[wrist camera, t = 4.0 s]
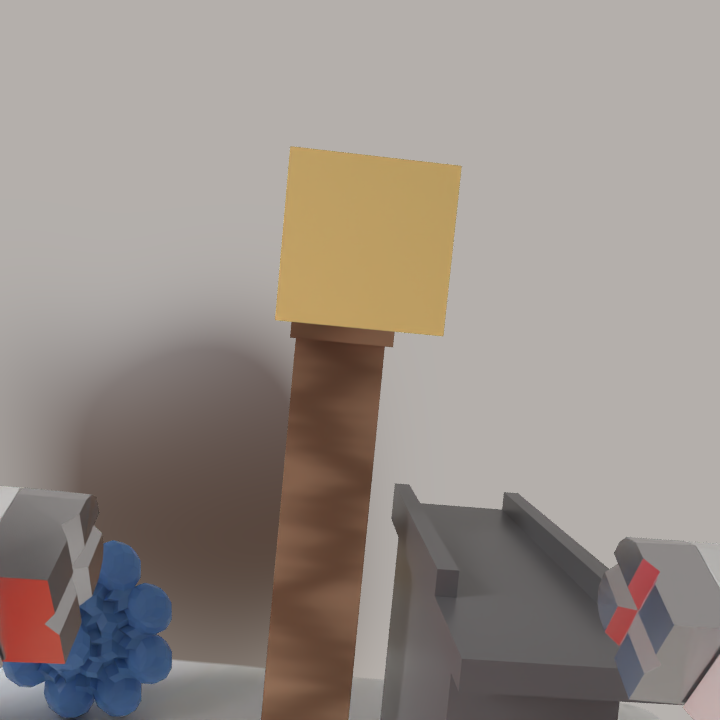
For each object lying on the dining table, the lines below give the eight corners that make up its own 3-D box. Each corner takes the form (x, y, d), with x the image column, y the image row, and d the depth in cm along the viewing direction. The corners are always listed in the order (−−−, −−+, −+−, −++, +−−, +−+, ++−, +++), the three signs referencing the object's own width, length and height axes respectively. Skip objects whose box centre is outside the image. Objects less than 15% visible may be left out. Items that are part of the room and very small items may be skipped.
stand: (201, 944, 27) (263, 243, 26) (236, 754, 39) (280, 269, 38) (370, 949, 27) (439, 261, 26) (354, 760, 39) (401, 282, 38)
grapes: (-65, 754, 37) (-50, 541, 36) (-3, 688, 43) (10, 508, 43) (148, 767, 37) (166, 558, 37) (176, 700, 44) (191, 522, 43)
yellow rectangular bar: (275, 320, 17) (290, 146, 17) (297, 312, 34) (304, 225, 34) (443, 336, 17) (461, 165, 17) (382, 320, 34) (390, 235, 34)
